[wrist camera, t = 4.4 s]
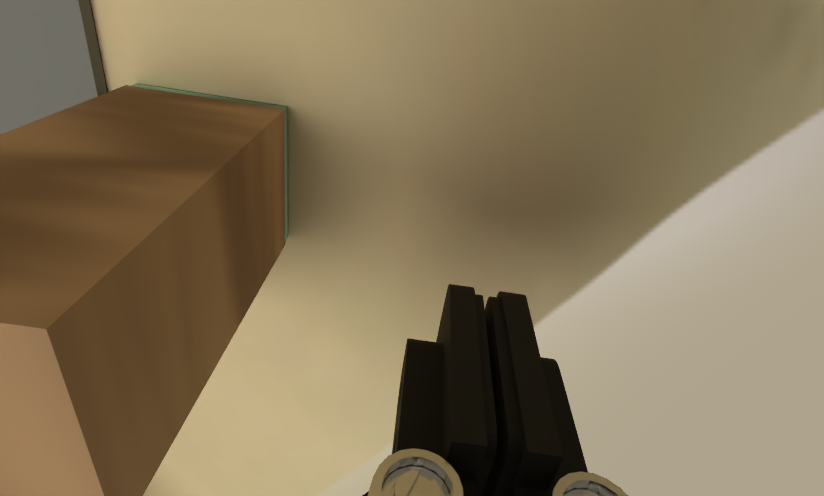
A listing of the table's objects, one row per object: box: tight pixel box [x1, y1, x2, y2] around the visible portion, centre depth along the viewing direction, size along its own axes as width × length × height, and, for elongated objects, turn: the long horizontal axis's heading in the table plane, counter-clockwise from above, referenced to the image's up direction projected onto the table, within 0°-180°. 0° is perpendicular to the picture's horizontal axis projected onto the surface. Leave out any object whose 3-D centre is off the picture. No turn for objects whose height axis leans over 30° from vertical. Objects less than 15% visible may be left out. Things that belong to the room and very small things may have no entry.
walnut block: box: [0, 84, 288, 496], centre depth 12 cm, size 5×5×11 cm
